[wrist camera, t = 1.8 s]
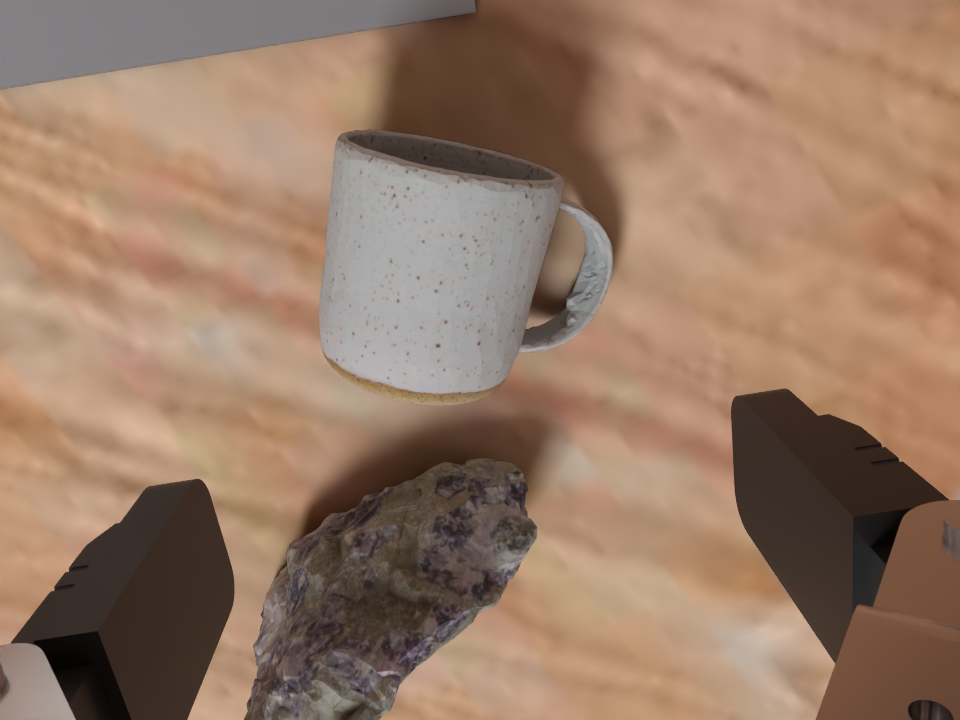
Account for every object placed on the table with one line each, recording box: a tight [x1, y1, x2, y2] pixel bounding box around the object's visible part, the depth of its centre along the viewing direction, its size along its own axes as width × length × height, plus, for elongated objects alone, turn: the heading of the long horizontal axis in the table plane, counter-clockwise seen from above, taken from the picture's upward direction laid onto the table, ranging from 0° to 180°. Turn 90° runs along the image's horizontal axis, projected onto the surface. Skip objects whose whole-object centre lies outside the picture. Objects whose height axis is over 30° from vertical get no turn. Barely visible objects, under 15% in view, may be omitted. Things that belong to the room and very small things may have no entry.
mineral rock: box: [244, 458, 537, 720], centre depth 31 cm, size 13×11×10 cm
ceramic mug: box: [319, 129, 613, 405], centre depth 28 cm, size 11×8×8 cm
